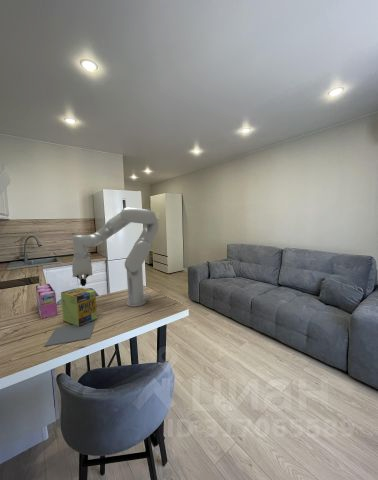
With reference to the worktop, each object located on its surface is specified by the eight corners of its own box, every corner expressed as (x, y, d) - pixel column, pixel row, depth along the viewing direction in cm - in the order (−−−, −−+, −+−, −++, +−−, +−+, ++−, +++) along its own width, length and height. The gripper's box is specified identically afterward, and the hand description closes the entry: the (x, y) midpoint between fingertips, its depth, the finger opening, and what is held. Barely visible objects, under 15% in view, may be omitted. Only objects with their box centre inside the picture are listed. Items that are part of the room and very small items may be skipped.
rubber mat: (95, 322, 110) (95, 321, 110) (90, 338, 95) (90, 337, 95) (56, 328, 105) (56, 327, 105) (44, 346, 90) (44, 345, 90)
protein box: (79, 327, 105) (76, 296, 104) (62, 320, 113) (60, 292, 112) (97, 318, 114) (95, 290, 112) (81, 313, 122) (79, 286, 121)
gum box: (37, 306, 134) (34, 285, 133) (51, 302, 139) (49, 282, 138) (41, 319, 116) (38, 295, 114) (58, 314, 121) (55, 291, 119)
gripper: (95, 253, 131) (97, 282, 133) (68, 255, 127) (71, 285, 129) (93, 255, 124) (96, 285, 126) (65, 257, 119) (68, 289, 121)
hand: (83, 285), depth 127 cm, fingers closed
